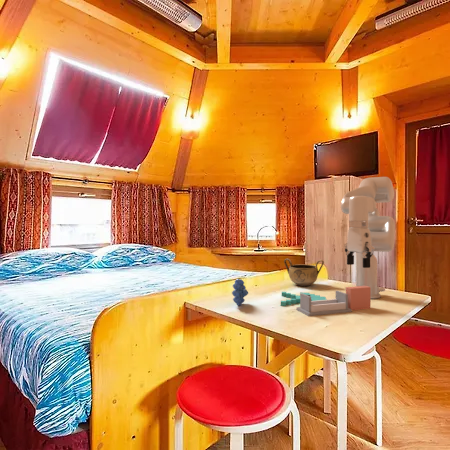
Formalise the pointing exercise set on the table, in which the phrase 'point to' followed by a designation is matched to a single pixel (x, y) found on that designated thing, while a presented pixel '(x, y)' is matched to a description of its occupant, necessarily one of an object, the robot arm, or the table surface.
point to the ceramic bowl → (303, 273)
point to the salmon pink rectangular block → (359, 297)
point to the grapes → (239, 292)
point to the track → (324, 305)
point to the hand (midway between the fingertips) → (358, 266)
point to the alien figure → (296, 298)
